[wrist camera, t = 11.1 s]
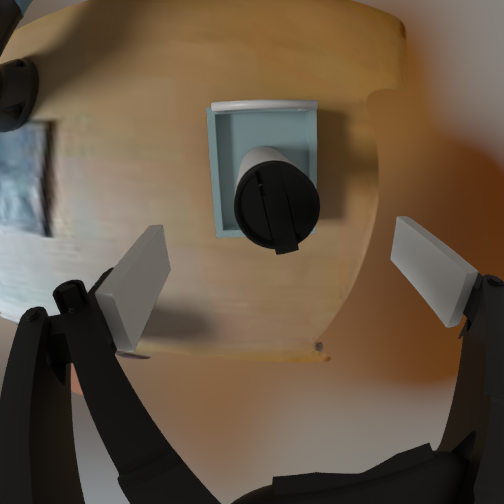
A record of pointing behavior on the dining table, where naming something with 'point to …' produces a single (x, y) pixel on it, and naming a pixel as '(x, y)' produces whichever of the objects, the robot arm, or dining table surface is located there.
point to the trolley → (256, 145)
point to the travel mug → (274, 201)
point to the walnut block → (318, 346)
